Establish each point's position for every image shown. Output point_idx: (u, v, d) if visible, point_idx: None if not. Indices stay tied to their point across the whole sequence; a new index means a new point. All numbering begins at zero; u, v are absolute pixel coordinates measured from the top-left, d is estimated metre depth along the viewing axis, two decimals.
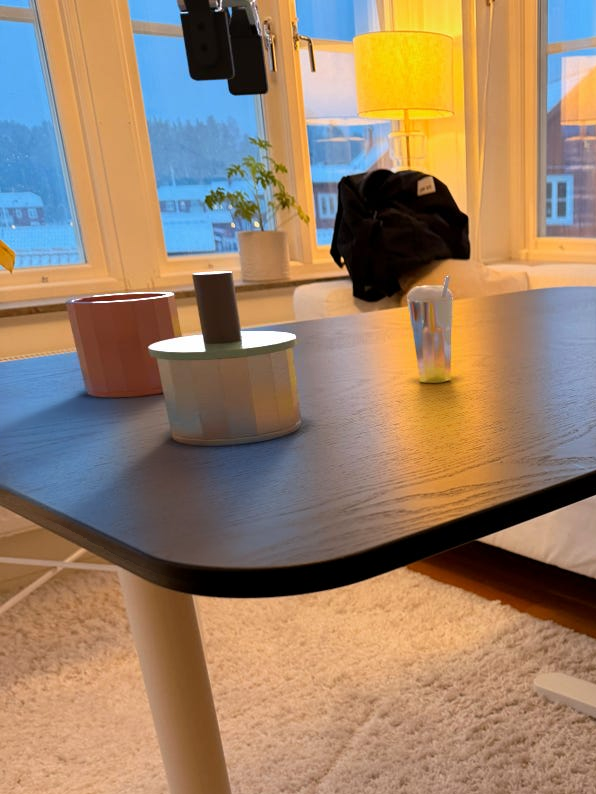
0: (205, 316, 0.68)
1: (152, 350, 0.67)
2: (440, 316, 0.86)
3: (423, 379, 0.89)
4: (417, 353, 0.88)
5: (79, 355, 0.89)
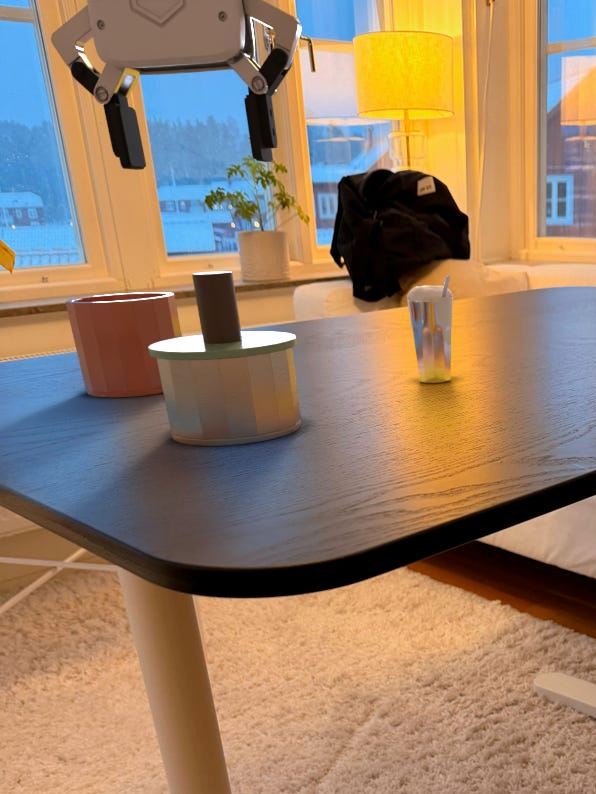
0: (205, 316, 0.68)
1: (152, 350, 0.67)
2: (440, 316, 0.86)
3: (423, 379, 0.89)
4: (417, 353, 0.88)
5: (79, 355, 0.89)
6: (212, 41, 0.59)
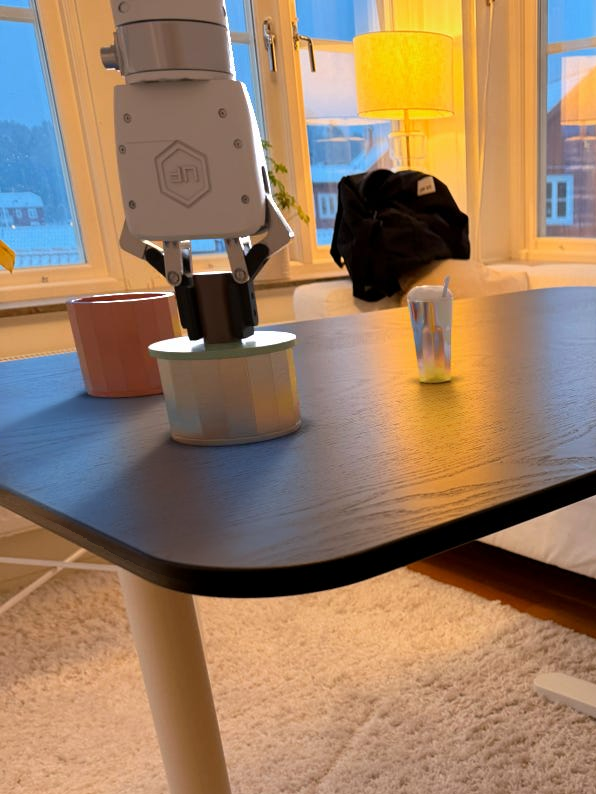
0: (205, 316, 0.68)
1: (152, 350, 0.67)
2: (440, 316, 0.86)
3: (423, 379, 0.89)
4: (417, 353, 0.88)
5: (79, 355, 0.89)
6: (235, 221, 0.63)
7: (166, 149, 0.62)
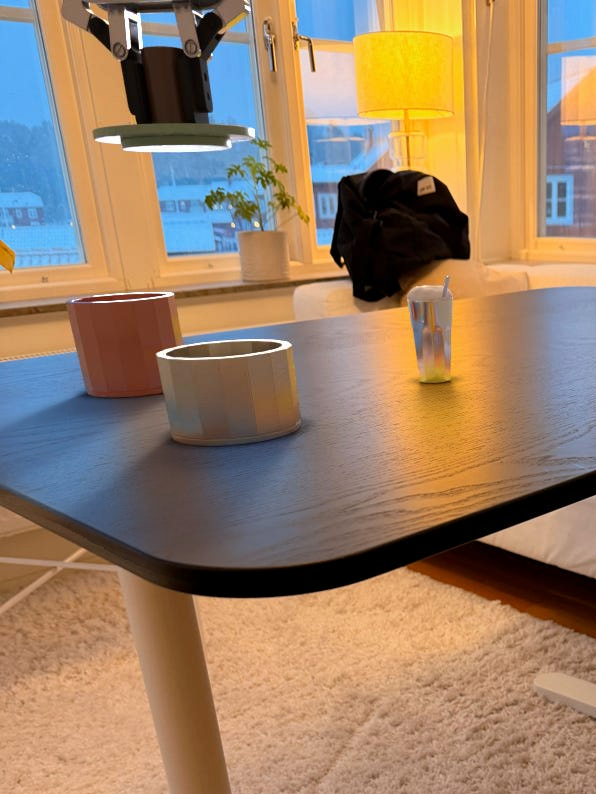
0: (154, 96, 0.63)
1: (95, 129, 0.62)
2: (440, 316, 0.86)
3: (423, 379, 0.89)
4: (417, 353, 0.88)
5: (79, 355, 0.89)
6: None
7: None
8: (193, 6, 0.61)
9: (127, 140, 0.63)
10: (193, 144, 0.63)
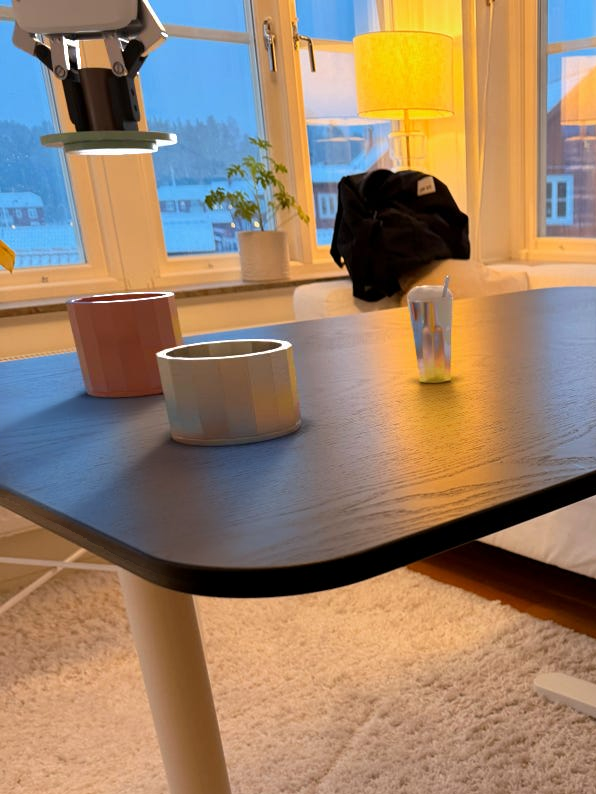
0: (90, 108, 0.76)
1: (41, 136, 0.75)
2: (440, 316, 0.86)
3: (423, 379, 0.89)
4: (417, 353, 0.88)
5: (79, 355, 0.89)
6: (108, 12, 0.72)
7: None
8: (119, 34, 0.74)
9: (68, 145, 0.76)
10: (122, 148, 0.76)
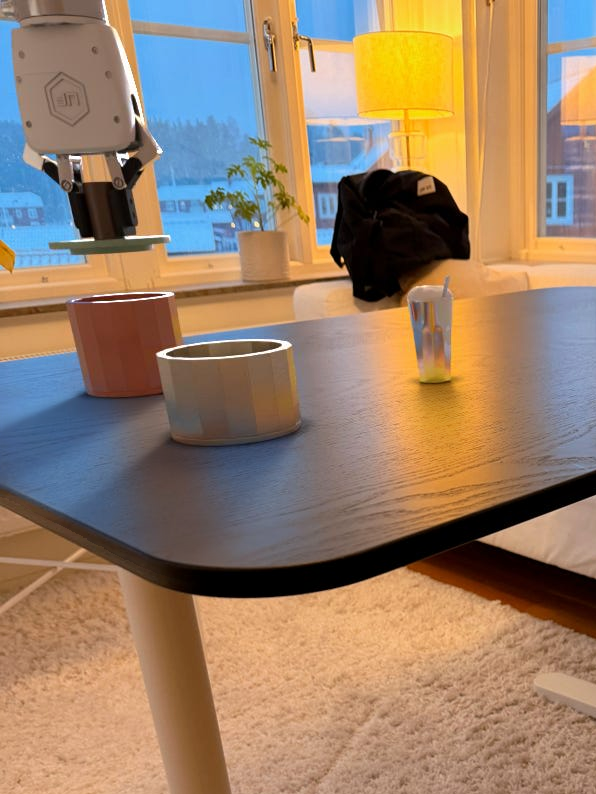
0: (93, 216, 0.85)
1: (50, 243, 0.84)
2: (440, 316, 0.86)
3: (423, 379, 0.89)
4: (417, 353, 0.88)
5: (79, 355, 0.89)
6: (110, 137, 0.81)
7: (53, 79, 0.79)
8: (119, 153, 0.83)
9: (74, 250, 0.85)
10: (122, 252, 0.85)
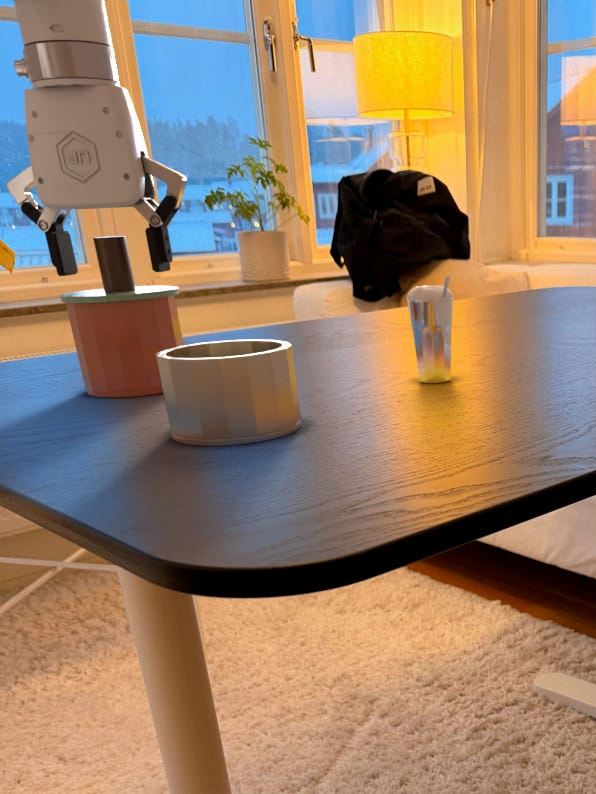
0: (104, 270, 0.87)
1: (62, 296, 0.86)
2: (440, 316, 0.86)
3: (423, 379, 0.89)
4: (417, 353, 0.88)
5: (79, 355, 0.89)
6: (120, 193, 0.83)
7: (65, 138, 0.81)
8: None
9: None
10: None
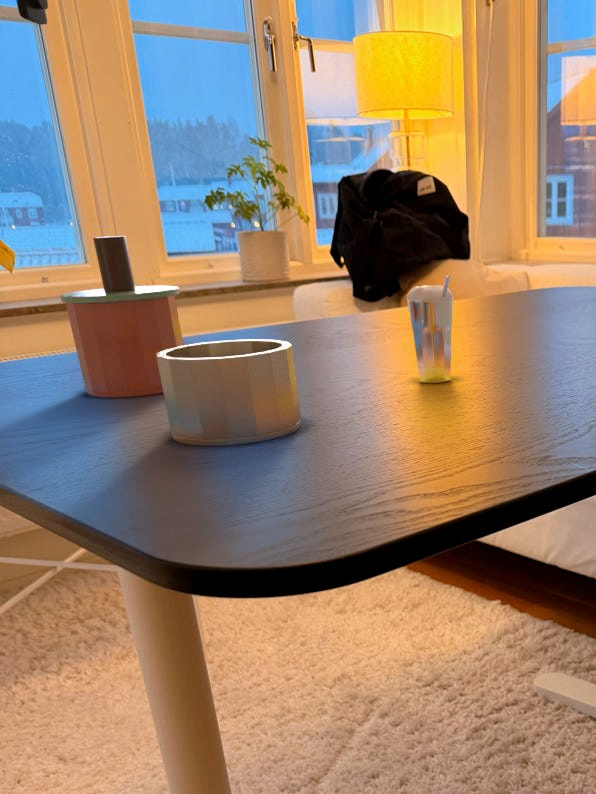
0: (104, 270, 0.87)
1: (62, 296, 0.86)
2: (440, 316, 0.86)
3: (423, 379, 0.89)
4: (417, 353, 0.88)
5: (79, 355, 0.89)
6: None
7: None
8: None
9: None
10: None
